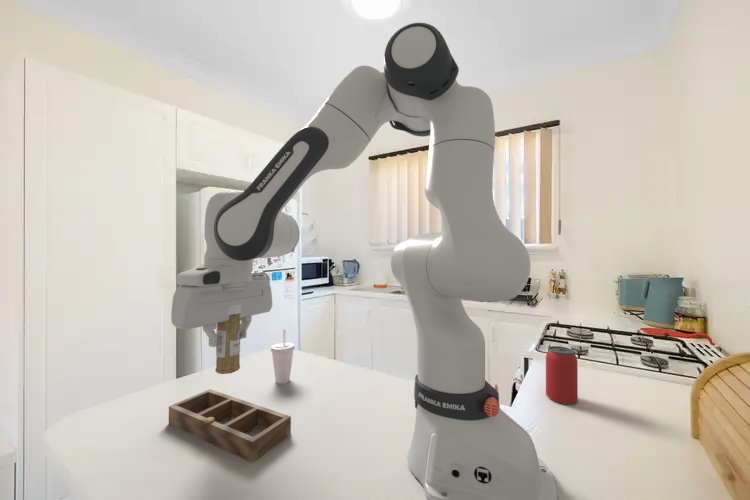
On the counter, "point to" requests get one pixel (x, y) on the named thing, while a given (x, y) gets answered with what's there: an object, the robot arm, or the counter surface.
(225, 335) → the sprinkles bottle
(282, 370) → the smoothie
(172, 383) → the counter surface
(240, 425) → the spice caddy
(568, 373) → the beer can
